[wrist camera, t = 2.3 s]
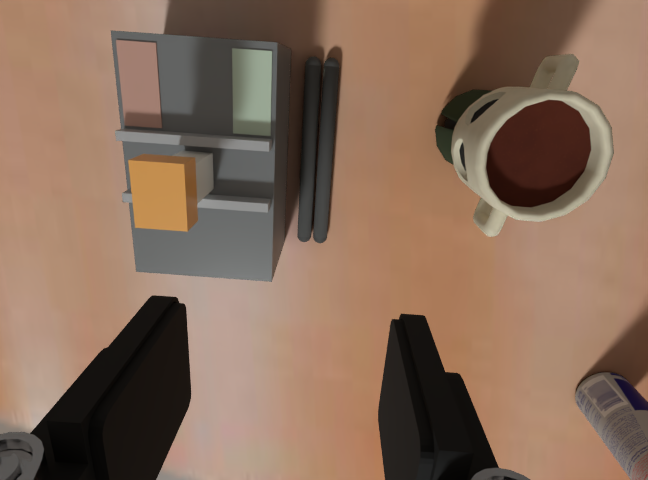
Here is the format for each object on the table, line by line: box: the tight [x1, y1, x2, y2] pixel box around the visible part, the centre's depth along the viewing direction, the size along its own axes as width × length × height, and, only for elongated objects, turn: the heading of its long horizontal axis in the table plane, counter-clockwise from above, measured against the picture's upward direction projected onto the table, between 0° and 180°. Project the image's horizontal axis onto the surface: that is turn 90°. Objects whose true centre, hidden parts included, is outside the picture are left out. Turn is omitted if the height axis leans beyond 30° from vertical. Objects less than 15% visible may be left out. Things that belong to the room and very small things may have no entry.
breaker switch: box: [128, 151, 214, 232], centre depth 25 cm, size 4×3×7 cm
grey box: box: [111, 31, 291, 282], centre depth 31 cm, size 16×10×9 cm, turn 176°
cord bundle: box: [298, 57, 339, 243], centre depth 35 cm, size 15×3×1 cm, turn 176°
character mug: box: [435, 54, 614, 237], centre depth 29 cm, size 11×7×13 cm, turn 164°
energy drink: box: [575, 372, 648, 480], centre depth 38 cm, size 5×5×12 cm
